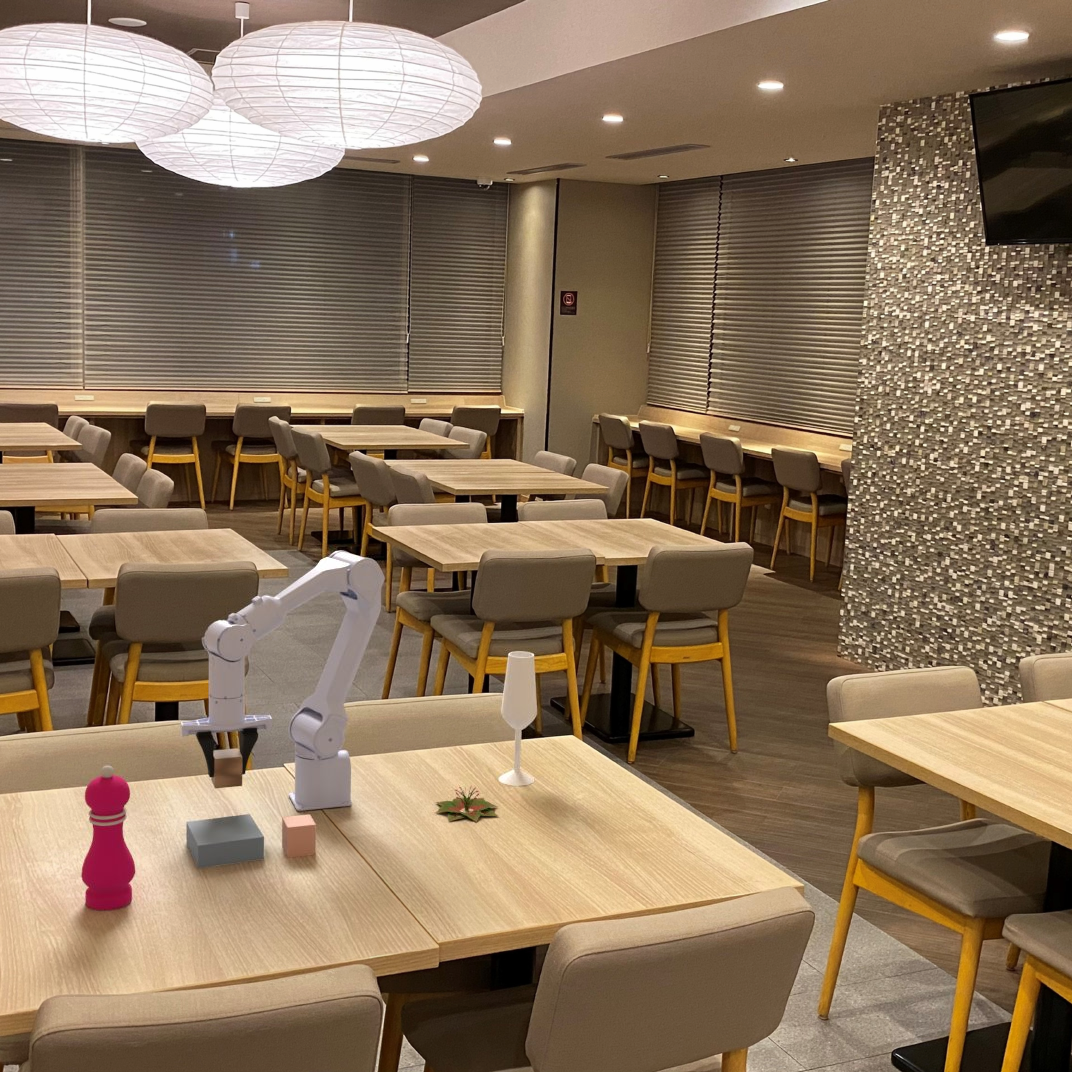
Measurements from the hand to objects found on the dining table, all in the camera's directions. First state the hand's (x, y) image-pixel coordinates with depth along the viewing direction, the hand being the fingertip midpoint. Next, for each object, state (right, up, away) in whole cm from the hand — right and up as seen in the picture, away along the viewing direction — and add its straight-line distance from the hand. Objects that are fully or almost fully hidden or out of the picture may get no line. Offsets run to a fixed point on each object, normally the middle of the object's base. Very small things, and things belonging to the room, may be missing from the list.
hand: (226, 773), depth 207 cm
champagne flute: (+47, -6, +27) cm, 55 cm away
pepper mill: (-10, -13, -29) cm, 33 cm away
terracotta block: (+14, -10, -9) cm, 19 cm away
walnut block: (0, -2, 0) cm, 2 cm away
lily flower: (+39, -9, +11) cm, 41 cm away
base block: (+2, -11, -10) cm, 15 cm away
